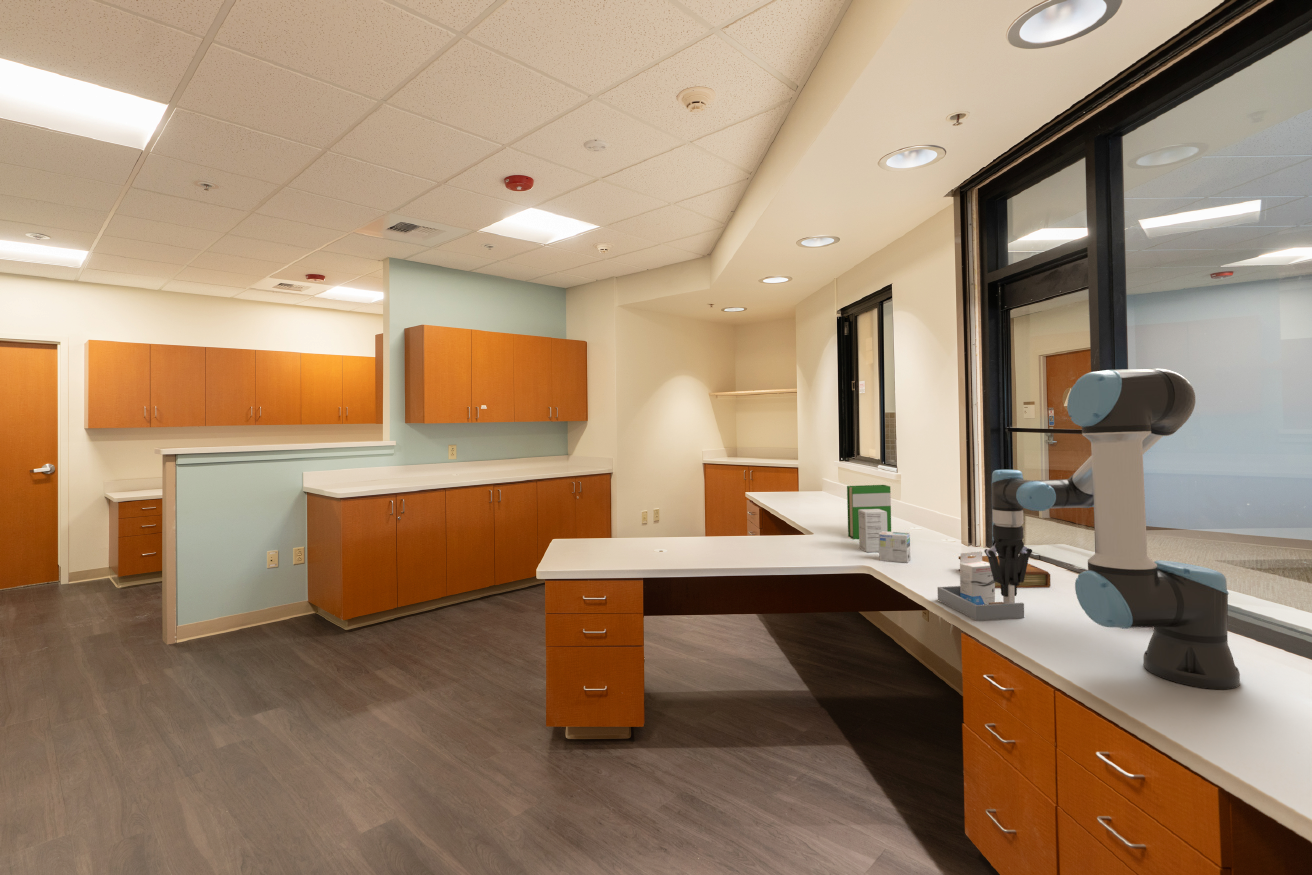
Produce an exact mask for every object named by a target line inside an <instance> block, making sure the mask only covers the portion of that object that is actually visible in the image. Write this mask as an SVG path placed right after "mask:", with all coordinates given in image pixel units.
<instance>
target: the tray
mask: <svg viewBox="0 0 1312 875" xmlns="http://www.w3.org/2000/svg"><path fill="white" fill-rule="evenodd" d="M938 600H939V602H940V601H941V602H940V603H942V602H943V604H944V603H945V605H946V606H947V607H949V608H952V609H953V608H954V610H955V609H956V610H955V611H957V610H958V612H959V613H961V614H963V615H965V616H967V617H969V618H970V619H972V620H974V621H980V622H981V621H991V620H992V621H993V620H994V621H995V620H1008V619H1010V620H1012V619H1024V618H1025V603H1024V602H1015V603H1005V604H984V605H976V604H974V603H972V602H970V601H968V600H966V599H964V598H962V597H960V585H949V586H937V601H938Z"/></svg>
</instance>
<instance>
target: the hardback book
mask: <svg viewBox="0 0 1312 875" xmlns="http://www.w3.org/2000/svg"><path fill="white" fill-rule="evenodd" d="M846 496H847V498H846V500H847V503H846V505H847V508H846V509H847V536H848V537H849V538H850V537H851V538H852V540H859V513H858V510H860V509H880V510H883V511H886V512H887V532H892V505H891V504H892V503H891V502H892V499H891V498H892V497H891V496H892V495H891V486H890V485H886V484H869V485H868V484H867V485H866V484H864V485H847V486H846Z"/></svg>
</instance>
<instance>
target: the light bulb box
mask: <svg viewBox="0 0 1312 875" xmlns="http://www.w3.org/2000/svg"><path fill="white" fill-rule="evenodd" d="M878 555H879V556H878V557H879V558H878V560H879V561H883V562H885V561H886V562H894V563H904V564H905V563H906V564H908V563H909V561H911V559H912V558H911V534H910V532H903V531H902V532H900V531H891V532H887V531H882V532H880V533H879V552H878Z"/></svg>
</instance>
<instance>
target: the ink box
mask: <svg viewBox="0 0 1312 875" xmlns="http://www.w3.org/2000/svg"><path fill="white" fill-rule="evenodd" d="M968 556H975V558H968ZM982 556H983V551H982V550H980V551H969V552H961V553H960V559H959V560H960V563H959V569H960V571H959V581H960V583H959V586H960V597H962V598H964V599H966V600H968V601H970V602H972V603H974V604H976V605H987V604H988V603H990V602H996V588H995V581H994V580H993V576H992V572H991V568H990V564H989V563H988V562H984V561H982Z"/></svg>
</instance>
